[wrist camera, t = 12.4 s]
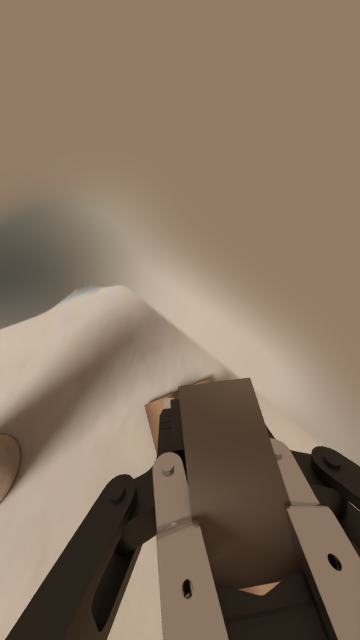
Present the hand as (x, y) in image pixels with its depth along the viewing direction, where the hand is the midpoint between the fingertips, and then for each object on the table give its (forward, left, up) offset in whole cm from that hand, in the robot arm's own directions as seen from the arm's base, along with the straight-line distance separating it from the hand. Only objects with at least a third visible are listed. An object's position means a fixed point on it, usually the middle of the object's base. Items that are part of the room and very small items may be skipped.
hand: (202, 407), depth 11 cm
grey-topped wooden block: (-1, -2, -4) cm, 4 cm away
